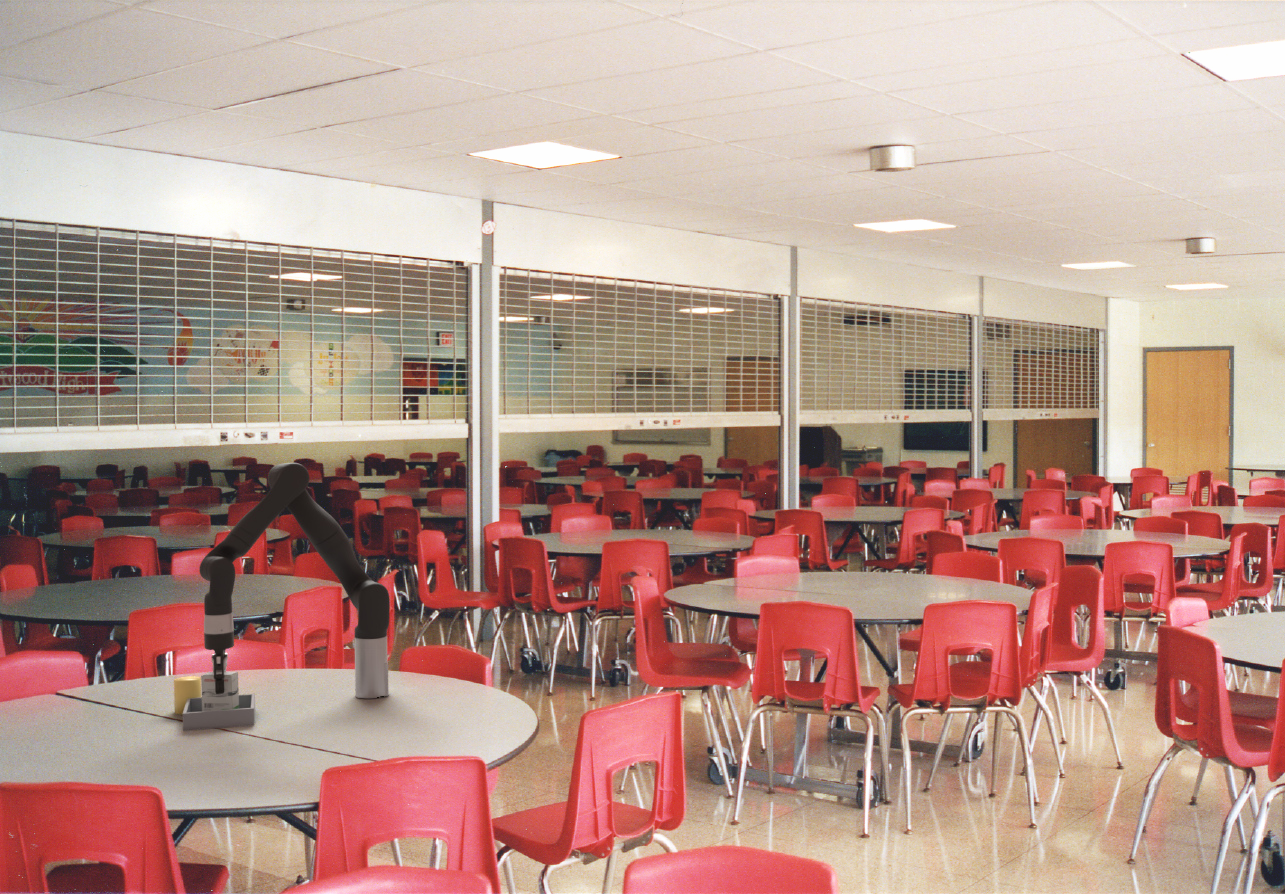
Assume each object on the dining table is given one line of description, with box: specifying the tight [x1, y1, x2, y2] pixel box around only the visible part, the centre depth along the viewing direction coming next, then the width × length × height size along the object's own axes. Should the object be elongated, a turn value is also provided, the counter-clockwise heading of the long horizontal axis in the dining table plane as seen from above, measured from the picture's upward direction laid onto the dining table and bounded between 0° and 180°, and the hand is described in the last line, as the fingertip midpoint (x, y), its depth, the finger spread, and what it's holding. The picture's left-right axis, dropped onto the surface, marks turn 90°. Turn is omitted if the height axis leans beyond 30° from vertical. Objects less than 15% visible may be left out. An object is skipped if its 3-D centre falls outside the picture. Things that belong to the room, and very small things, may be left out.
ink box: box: [200, 671, 240, 711], centre depth 327 cm, size 9×5×12 cm, turn 86°
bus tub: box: [182, 693, 256, 732], centre depth 327 cm, size 18×18×4 cm
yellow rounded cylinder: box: [173, 675, 202, 715], centre depth 337 cm, size 7×7×9 cm
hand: (220, 690), depth 327 cm, fingers open, 8 cm apart
